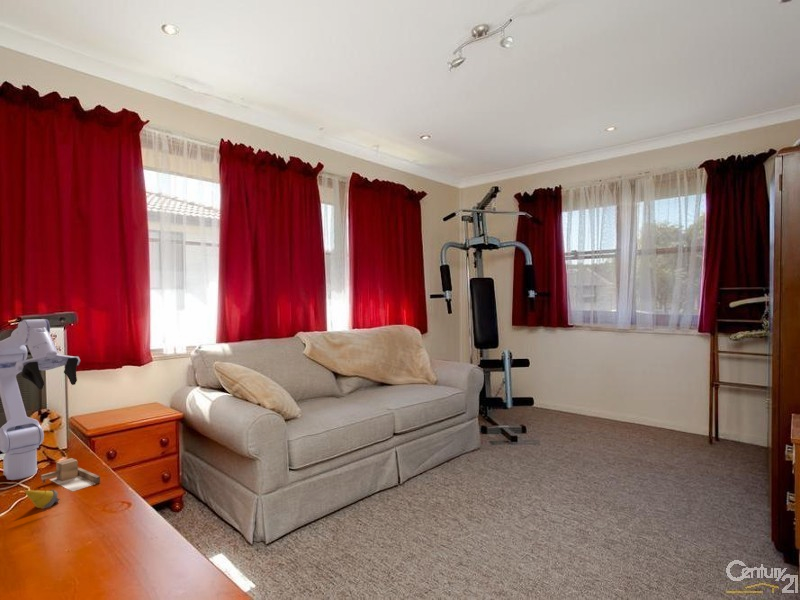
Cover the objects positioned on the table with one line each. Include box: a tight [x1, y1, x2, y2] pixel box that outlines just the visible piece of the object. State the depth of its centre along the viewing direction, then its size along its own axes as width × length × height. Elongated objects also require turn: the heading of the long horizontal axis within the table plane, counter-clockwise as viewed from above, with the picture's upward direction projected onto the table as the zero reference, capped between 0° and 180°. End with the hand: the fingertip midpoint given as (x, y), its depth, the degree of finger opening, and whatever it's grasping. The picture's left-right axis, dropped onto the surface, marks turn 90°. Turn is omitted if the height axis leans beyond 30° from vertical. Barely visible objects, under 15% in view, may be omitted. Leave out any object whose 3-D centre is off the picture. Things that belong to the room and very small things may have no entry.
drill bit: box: [23, 489, 61, 512], centre depth 114 cm, size 5×5×10 cm
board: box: [49, 466, 101, 493], centre depth 130 cm, size 16×7×3 cm, turn 57°
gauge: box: [40, 457, 79, 484], centre depth 131 cm, size 4×8×5 cm, turn 147°
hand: (58, 384), depth 121 cm, fingers open, 7 cm apart
